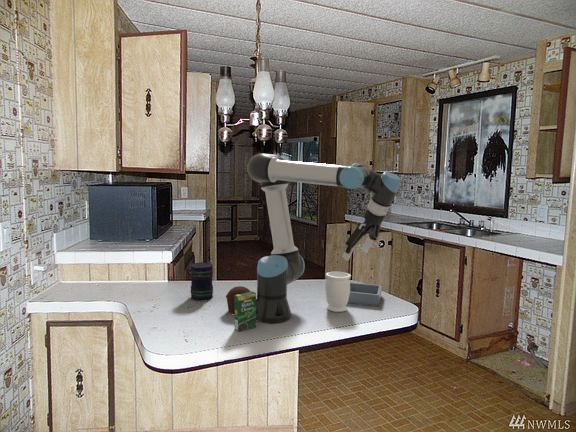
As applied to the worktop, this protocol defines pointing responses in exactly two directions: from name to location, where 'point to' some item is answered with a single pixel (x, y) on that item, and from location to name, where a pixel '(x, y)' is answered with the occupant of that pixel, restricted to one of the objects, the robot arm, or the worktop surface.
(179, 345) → the worktop surface
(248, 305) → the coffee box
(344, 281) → the white tapered cylinder
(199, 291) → the storage jar
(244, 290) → the muffin
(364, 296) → the bin
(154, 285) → the worktop surface
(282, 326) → the worktop surface
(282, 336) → the worktop surface
